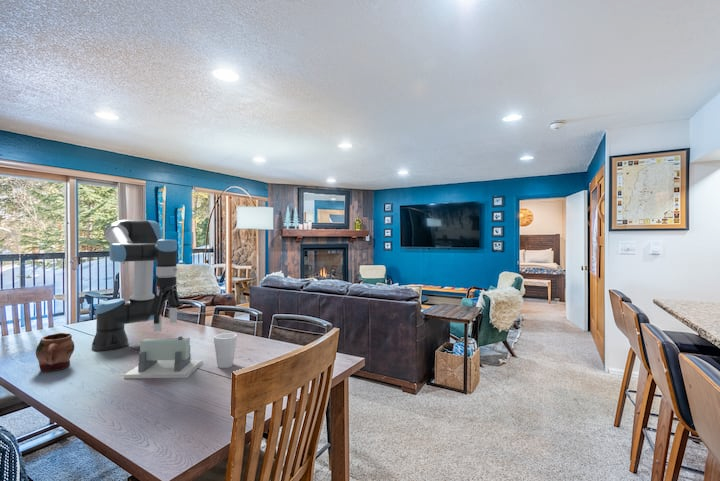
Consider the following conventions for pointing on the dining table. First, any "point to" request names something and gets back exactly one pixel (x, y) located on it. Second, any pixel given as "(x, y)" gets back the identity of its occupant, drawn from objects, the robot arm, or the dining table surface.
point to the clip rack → (163, 367)
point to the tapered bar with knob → (165, 348)
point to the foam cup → (225, 349)
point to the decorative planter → (55, 352)
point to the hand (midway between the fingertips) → (165, 326)
